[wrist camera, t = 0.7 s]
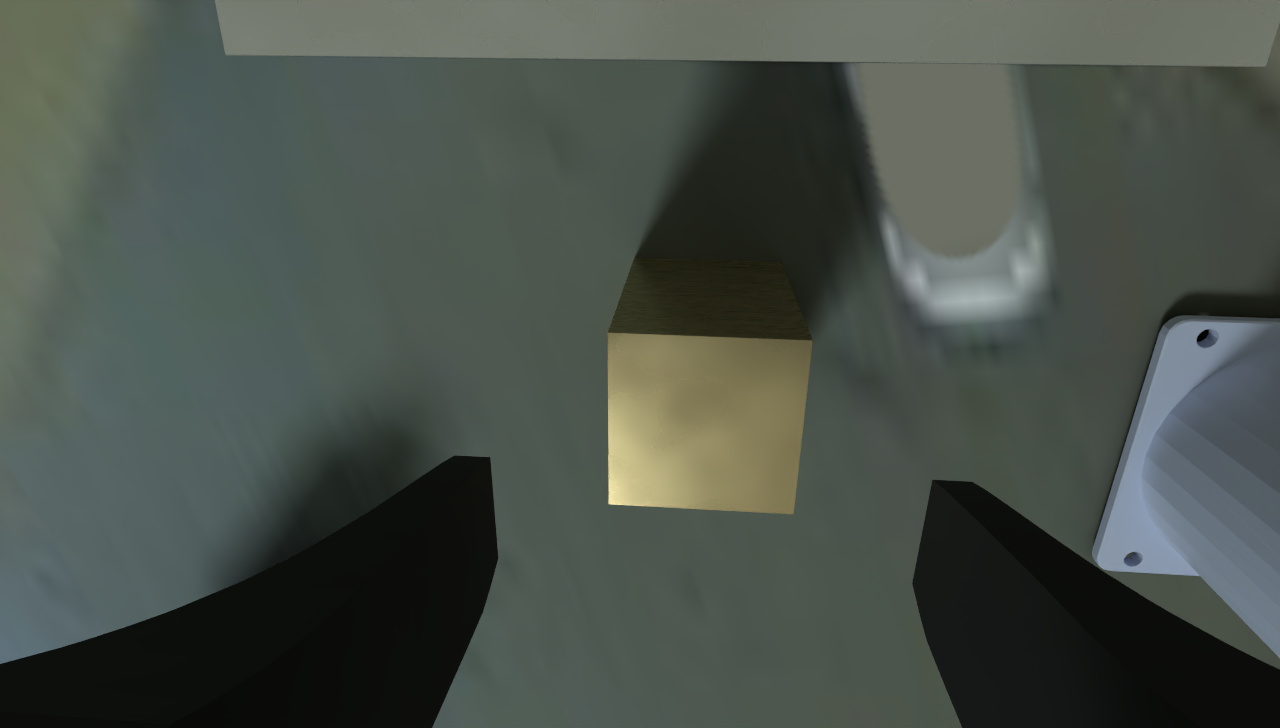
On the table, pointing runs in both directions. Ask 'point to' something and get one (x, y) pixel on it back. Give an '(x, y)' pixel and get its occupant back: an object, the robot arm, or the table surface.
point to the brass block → (707, 386)
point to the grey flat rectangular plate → (764, 30)
